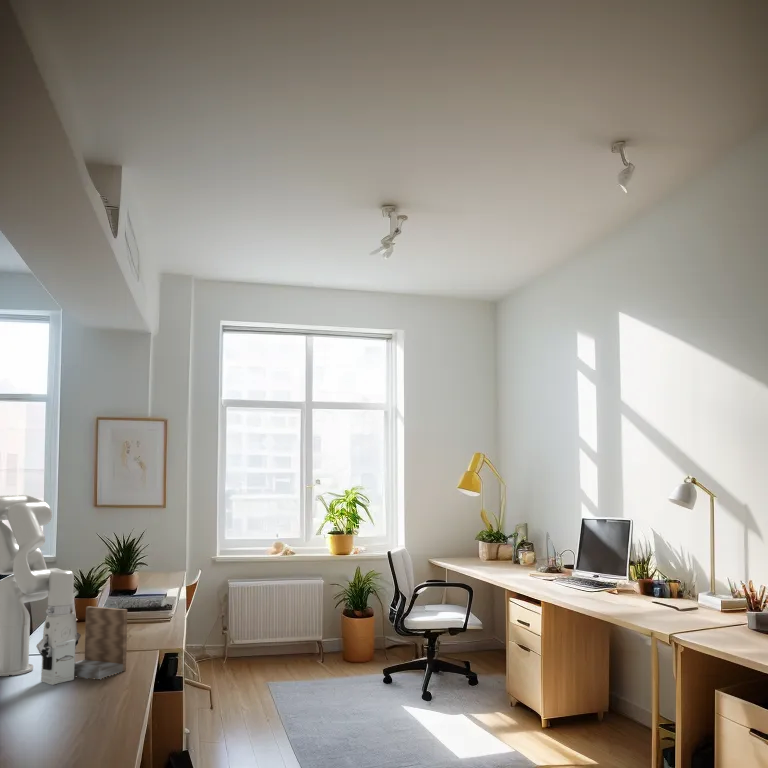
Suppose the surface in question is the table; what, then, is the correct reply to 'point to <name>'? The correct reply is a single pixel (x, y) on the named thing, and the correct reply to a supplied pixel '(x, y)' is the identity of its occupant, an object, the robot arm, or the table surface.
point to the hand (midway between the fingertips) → (58, 665)
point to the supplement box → (60, 663)
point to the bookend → (103, 643)
